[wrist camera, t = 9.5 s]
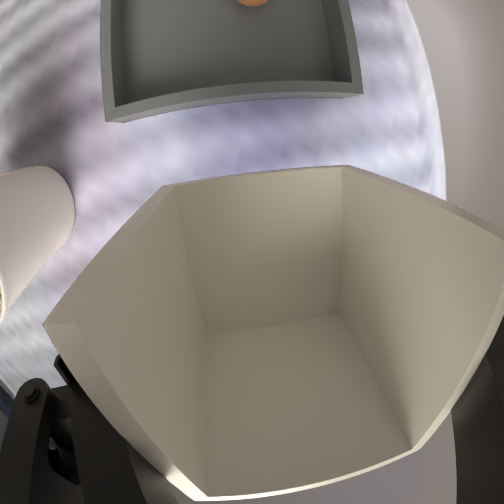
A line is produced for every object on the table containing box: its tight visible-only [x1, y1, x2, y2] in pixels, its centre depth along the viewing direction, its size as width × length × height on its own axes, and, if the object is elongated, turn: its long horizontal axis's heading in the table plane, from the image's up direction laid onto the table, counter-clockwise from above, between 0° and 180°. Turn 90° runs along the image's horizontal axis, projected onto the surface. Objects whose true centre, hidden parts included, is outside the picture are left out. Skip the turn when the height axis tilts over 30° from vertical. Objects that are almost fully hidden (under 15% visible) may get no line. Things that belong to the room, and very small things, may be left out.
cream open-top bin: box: [42, 165, 504, 501], centre depth 9 cm, size 8×8×9 cm
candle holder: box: [0, 165, 75, 324], centre depth 15 cm, size 10×10×12 cm
